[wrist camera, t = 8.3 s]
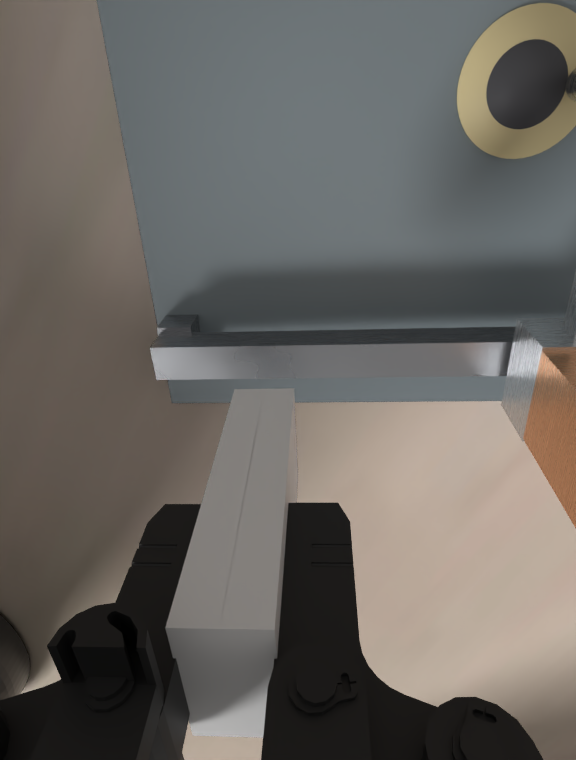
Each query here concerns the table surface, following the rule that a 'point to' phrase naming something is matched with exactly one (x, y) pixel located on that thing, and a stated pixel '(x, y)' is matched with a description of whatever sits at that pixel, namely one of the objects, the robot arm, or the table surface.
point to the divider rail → (327, 352)
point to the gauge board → (349, 170)
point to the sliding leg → (547, 389)
